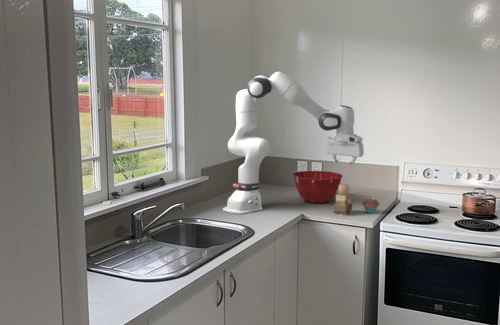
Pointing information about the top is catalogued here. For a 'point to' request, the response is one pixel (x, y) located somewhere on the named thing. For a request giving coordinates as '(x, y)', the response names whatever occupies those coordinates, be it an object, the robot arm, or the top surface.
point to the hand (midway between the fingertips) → (343, 164)
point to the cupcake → (370, 204)
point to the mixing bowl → (317, 185)
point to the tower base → (342, 209)
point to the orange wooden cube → (343, 190)
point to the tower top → (343, 200)
